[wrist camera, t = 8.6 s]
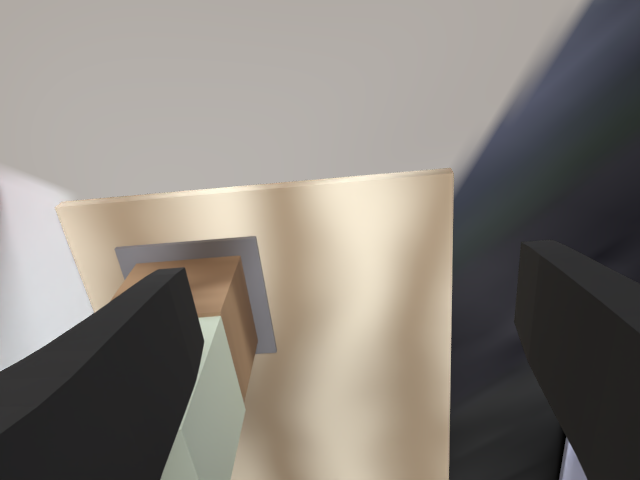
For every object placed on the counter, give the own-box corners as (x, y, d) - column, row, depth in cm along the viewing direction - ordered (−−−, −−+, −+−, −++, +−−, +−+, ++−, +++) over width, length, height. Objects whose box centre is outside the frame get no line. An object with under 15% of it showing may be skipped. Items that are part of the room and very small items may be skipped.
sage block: (221, 315, 18) (181, 429, 13) (245, 409, 20) (218, 535, 15) (97, 326, 18) (19, 440, 14) (134, 417, 20) (77, 541, 16)
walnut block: (240, 255, 21) (220, 311, 18) (257, 341, 23) (243, 406, 20) (136, 263, 22) (96, 320, 18) (162, 347, 24) (131, 412, 20)
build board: (450, 167, 20) (454, 175, 19) (446, 498, 29) (448, 512, 28) (61, 201, 21) (52, 209, 21) (174, 508, 30) (170, 521, 30)
